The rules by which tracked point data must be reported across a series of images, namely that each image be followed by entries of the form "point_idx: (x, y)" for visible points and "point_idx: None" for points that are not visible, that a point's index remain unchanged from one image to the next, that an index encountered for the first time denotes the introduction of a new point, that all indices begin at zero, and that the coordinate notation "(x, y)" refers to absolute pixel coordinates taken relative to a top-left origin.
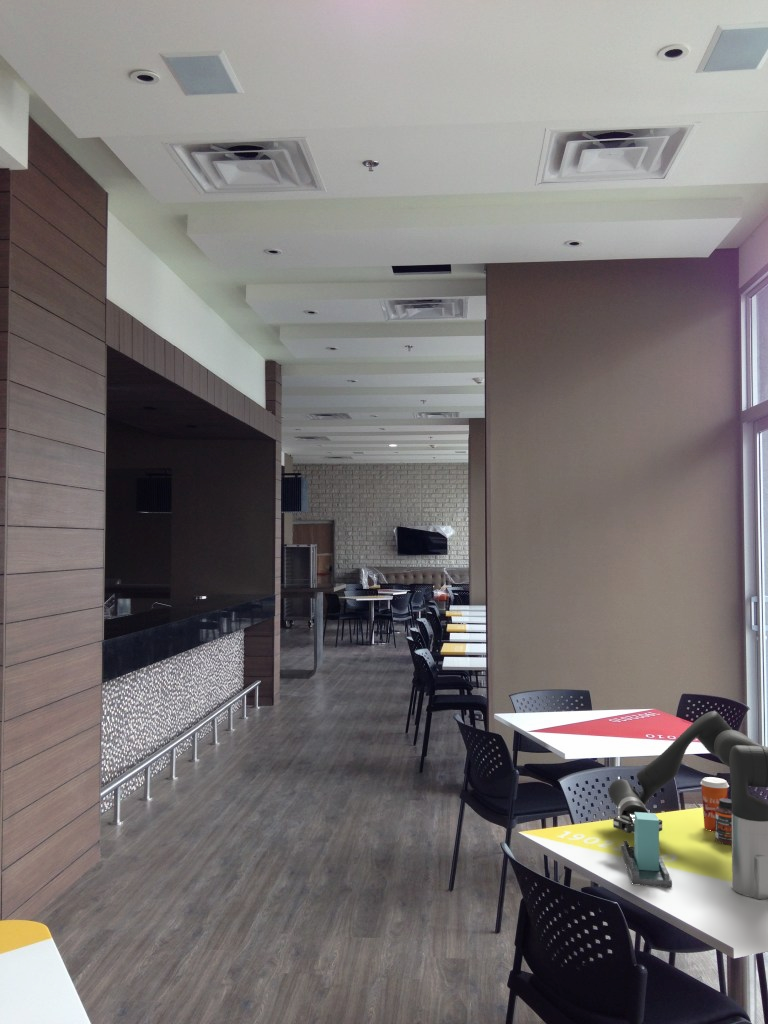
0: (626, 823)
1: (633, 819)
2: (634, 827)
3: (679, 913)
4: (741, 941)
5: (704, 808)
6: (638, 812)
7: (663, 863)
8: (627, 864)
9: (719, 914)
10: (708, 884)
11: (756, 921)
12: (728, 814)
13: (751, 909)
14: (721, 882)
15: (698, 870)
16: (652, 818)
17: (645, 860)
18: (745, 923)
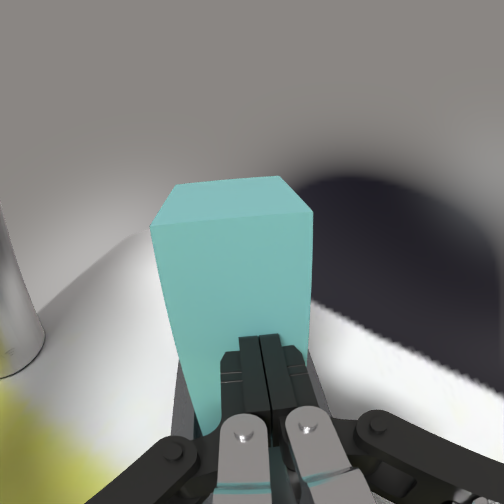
0: (395, 419)
1: (349, 476)
2: (309, 312)
3: None
4: (147, 233)
5: None
6: (281, 212)
7: (182, 370)
8: (324, 396)
9: (137, 269)
10: (77, 370)
11: (93, 266)
12: None
13: (71, 291)
14: (37, 384)
15: (48, 464)
16: (200, 188)
17: None
18: (113, 259)
